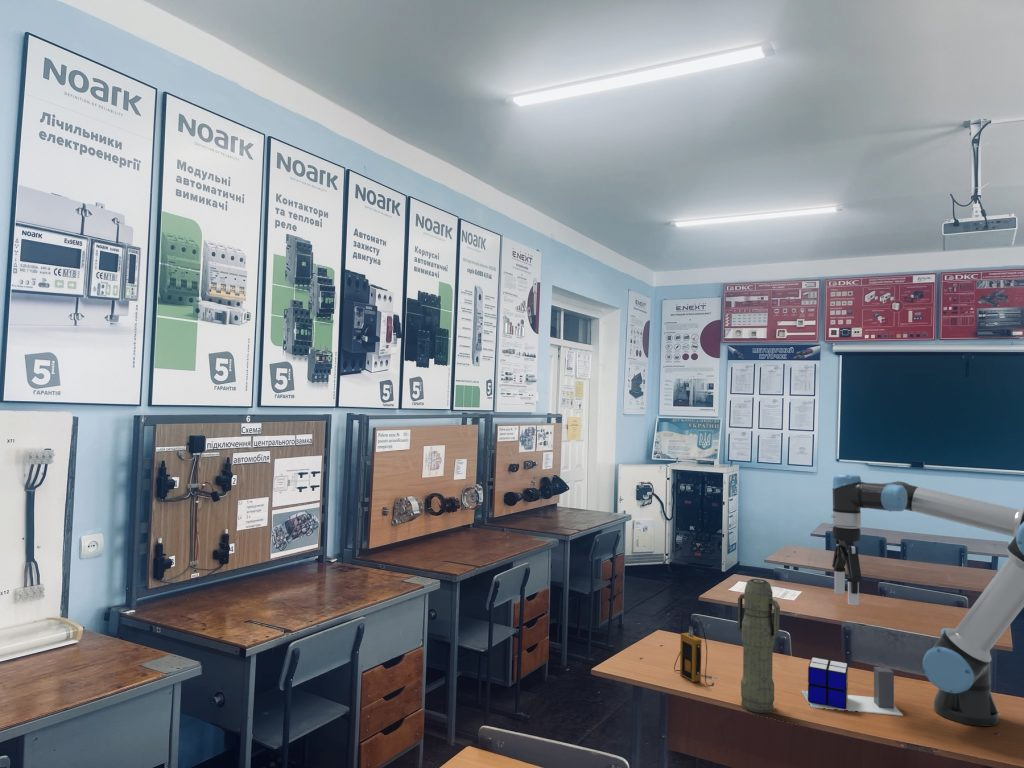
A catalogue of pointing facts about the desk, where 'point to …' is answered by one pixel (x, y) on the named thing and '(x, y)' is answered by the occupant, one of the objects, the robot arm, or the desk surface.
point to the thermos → (758, 645)
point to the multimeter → (691, 655)
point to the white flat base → (876, 704)
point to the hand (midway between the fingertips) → (846, 599)
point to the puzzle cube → (828, 683)
